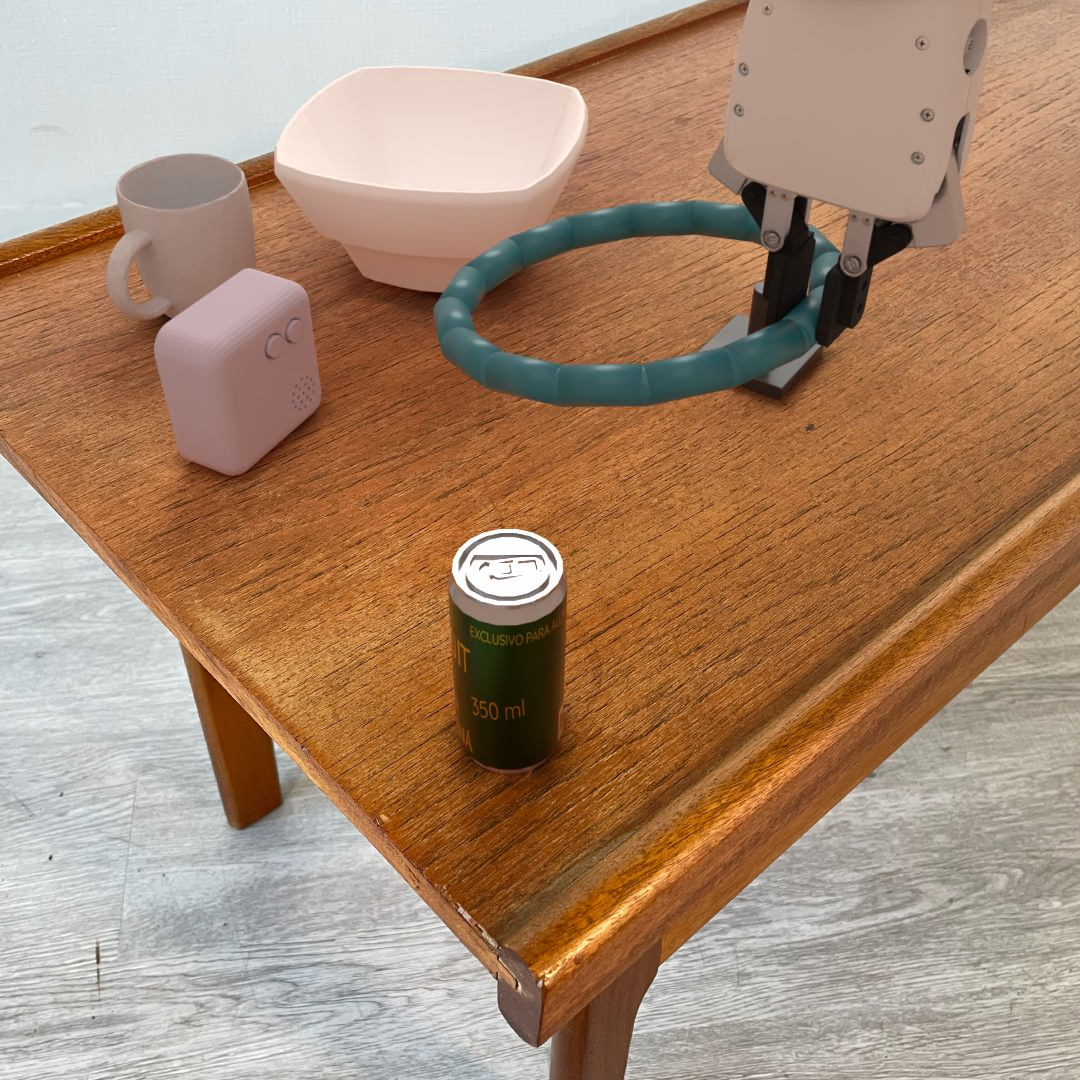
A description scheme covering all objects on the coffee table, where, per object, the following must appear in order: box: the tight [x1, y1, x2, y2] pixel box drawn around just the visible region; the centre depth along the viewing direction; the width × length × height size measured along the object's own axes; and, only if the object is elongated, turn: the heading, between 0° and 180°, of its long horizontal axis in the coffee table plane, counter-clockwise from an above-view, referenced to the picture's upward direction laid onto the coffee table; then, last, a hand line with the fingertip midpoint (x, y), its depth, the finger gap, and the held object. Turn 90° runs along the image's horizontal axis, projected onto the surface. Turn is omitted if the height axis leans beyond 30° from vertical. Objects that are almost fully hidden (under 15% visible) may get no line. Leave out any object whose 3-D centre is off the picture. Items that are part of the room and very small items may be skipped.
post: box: [697, 280, 825, 401], centre depth 85 cm, size 7×7×6 cm
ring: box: [432, 199, 842, 408], centre depth 65 cm, size 22×22×2 cm
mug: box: [105, 152, 256, 321], centre depth 87 cm, size 13×9×10 cm
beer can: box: [447, 528, 568, 775], centre depth 57 cm, size 5×5×12 cm
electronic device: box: [153, 268, 322, 477], centre depth 76 cm, size 10×5×10 cm, turn 152°
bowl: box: [273, 65, 589, 293], centre depth 93 cm, size 22×22×12 cm
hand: (809, 322), depth 59 cm, fingers closed on ring, 2 cm apart
